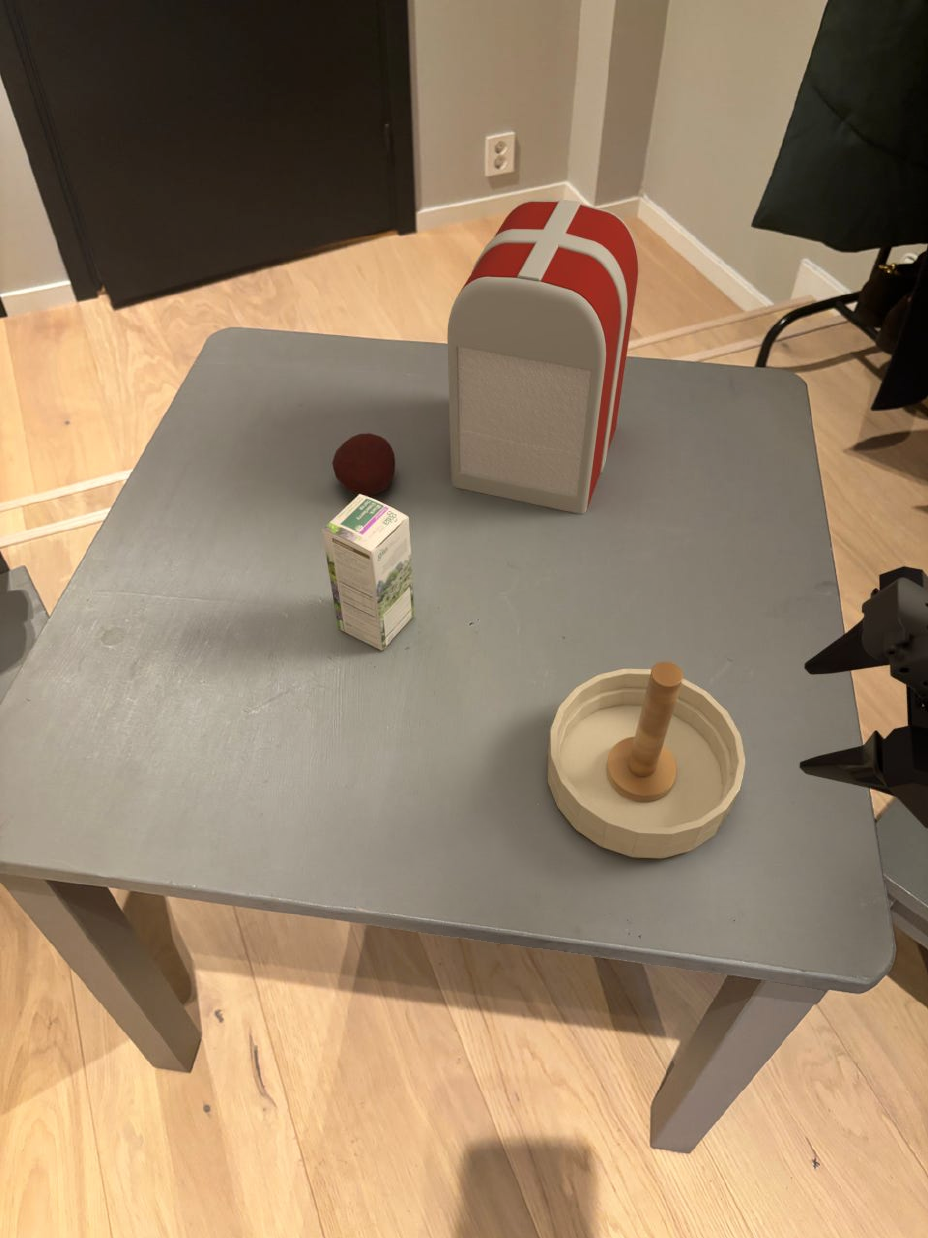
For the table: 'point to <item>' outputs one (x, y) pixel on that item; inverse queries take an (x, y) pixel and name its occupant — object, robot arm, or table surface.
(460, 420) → the red white rounded box
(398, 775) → the table surface
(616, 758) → the tan wooden tall post
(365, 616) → the syrup box
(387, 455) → the potato
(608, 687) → the bowl
